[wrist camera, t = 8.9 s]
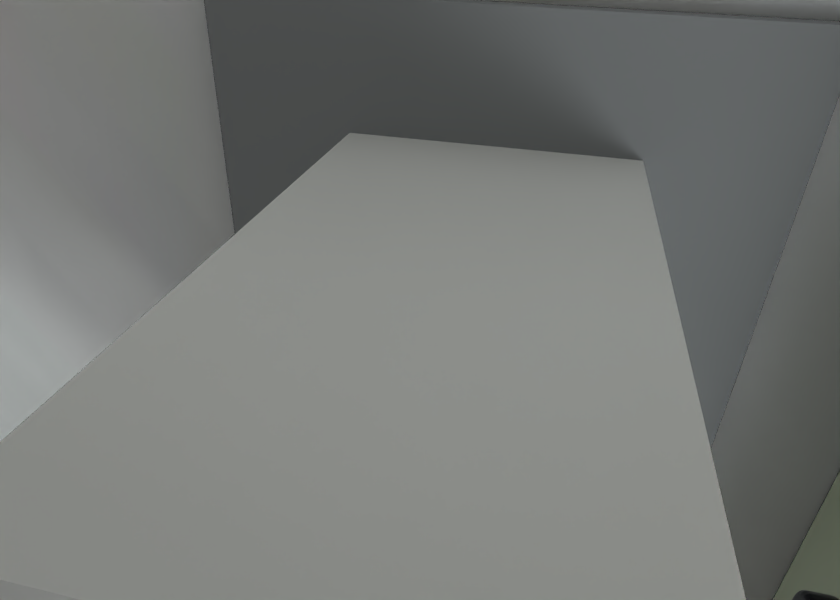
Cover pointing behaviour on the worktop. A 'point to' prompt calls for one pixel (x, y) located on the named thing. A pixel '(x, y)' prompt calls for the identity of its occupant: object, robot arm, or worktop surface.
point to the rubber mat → (555, 119)
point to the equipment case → (817, 553)
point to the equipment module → (390, 403)
